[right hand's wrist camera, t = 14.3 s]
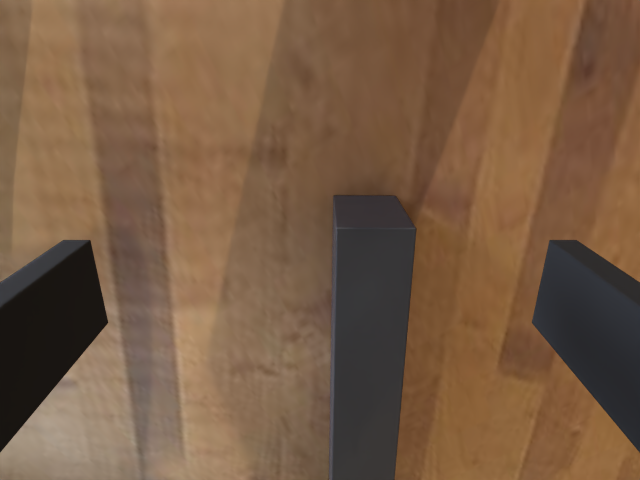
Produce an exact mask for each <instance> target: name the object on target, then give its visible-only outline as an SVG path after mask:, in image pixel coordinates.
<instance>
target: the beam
mask: <svg viewBox="0 0 640 480" xmlns="http://www.w3.org/2000/svg"><path fill="white" fill-rule="evenodd" d="M415 239H416V227H415V226H414V224H413V223H412V221H411V219H410V218H409V216H408V215H407V213H406V211H405V210H404V208H403V207H402V205H401V203H400V202H399V200H398V199H397V197H396V196H351V195H334V196H333V246H332V312H331V378H330V444H329V480H394V478H395V466H396V455H397V444H398V432H399V421H400V410H401V398H402V387H403V375H404V364H405V353H406V341H407V330H408V318H409V307H410V296H411V284H412V273H413V262H414V250H415Z"/></svg>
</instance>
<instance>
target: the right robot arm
mask: <svg viewBox="0 0 640 480" xmlns="http://www.w3.org/2000/svg"><path fill="white" fill-rule="evenodd" d="M107 323H108V320H107V315H106V311H105V306H104V301H103V297H102V292H101V287H100V283H99V278H98V274H97V269H96V264H95V260H94V255H93V250H92V246H91V241H90V240H63V241H61V242H60V243H58V244H57V245H55V246H54V247H52V248H51V249H50V250H48V251H47V252H45V253H44V254H42V255H41V256H39V257H38V258H36V259H35V260H33V261H32V262H30V263H29V264H27V265H26V266H24V267H23V268H21V269H20V270H18V271H17V272H15V273H14V274H12V275H11V276H9V277H8V278H6V279H5V280H3V281H2V282H0V452H1V451H2V450H3V449H4V447H5V446H6V445H7V444H8V443H9V441H10V440H11V439H12V438H13V436H14V435H15V434H16V433H17V432H18V430H19V429H20V428H21V427H22V426H23V424H24V423H25V422H26V421H27V420H28V418H29V417H30V416H31V415H32V414H33V412H34V411H35V410H36V409H37V408H38V406H39V405H40V404H41V403H42V402H43V400H44V399H45V398H46V397H47V396H48V394H49V393H50V392H51V391H52V390H53V388H54V387H55V386H56V385H57V384H58V382H59V381H60V380H61V379H62V378H63V376H64V375H65V374H66V373H67V372H68V370H69V369H70V368H71V367H72V366H73V364H74V363H75V362H76V361H77V360H78V358H79V357H80V356H81V355H82V354H83V352H84V351H85V350H86V349H87V348H88V346H89V345H90V344H91V343H92V341H93V340H94V339H95V338H96V337H97V335H98V334H99V333H100V332H101V331H102V329H103V328H104V327H105V326H106V325H107ZM532 323H533V325H534V326H535V327H536V328H537V329H538V331H539V332H540V333H541V334H542V335H543V337H544V338H545V339H546V340H547V341H548V343H549V344H550V345H551V346H552V348H553V349H554V350H555V351H556V352H557V354H558V355H559V356H560V357H561V358H562V360H563V361H564V362H565V363H566V364H567V366H568V367H569V368H570V369H571V370H572V372H573V373H574V374H575V375H576V376H577V378H578V379H579V380H580V381H581V382H582V384H583V385H584V386H585V387H586V388H587V390H588V391H589V392H590V393H591V394H592V396H593V397H594V398H595V399H596V400H597V402H598V403H599V404H600V405H601V406H602V408H603V409H604V410H605V411H606V412H607V414H608V415H609V416H610V417H611V418H612V420H613V421H614V422H615V423H616V424H617V426H618V427H619V428H620V429H621V430H622V432H623V433H624V434H625V435H626V436H627V438H628V439H629V440H630V441H631V443H632V444H633V445H634V446H635V447H636V449H637V450H638V451H639V452H640V282H638V281H637V280H635V279H634V278H632V277H631V276H629V275H628V274H626V273H625V272H623V271H622V270H620V269H619V268H617V267H616V266H614V265H613V264H611V263H610V262H608V261H607V260H605V259H604V258H602V257H601V256H599V255H598V254H596V253H595V252H593V251H592V250H590V249H589V248H588V247H586V246H585V245H583V244H582V243H580V242H579V241H577V240H550V241H549V246H548V250H547V255H546V260H545V264H544V269H543V274H542V278H541V283H540V287H539V292H538V297H537V301H536V306H535V311H534V315H533V320H532Z"/></svg>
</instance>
